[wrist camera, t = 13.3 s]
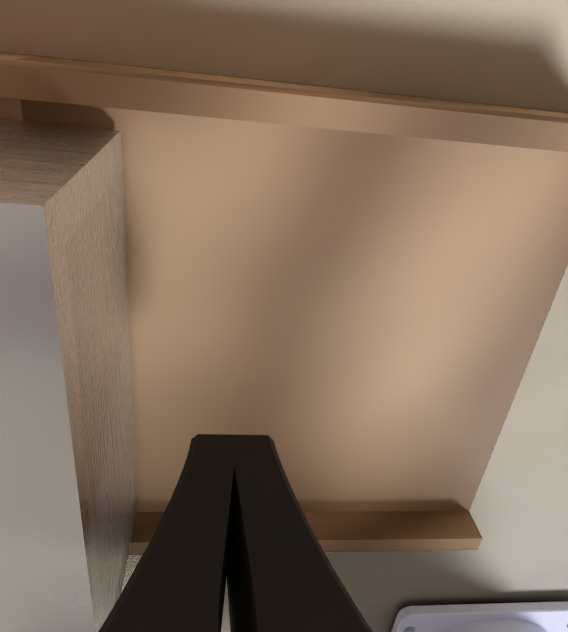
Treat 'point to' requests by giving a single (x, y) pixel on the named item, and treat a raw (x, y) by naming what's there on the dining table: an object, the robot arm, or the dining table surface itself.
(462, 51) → the dining table surface
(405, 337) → the housing base
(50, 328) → the housing cover
